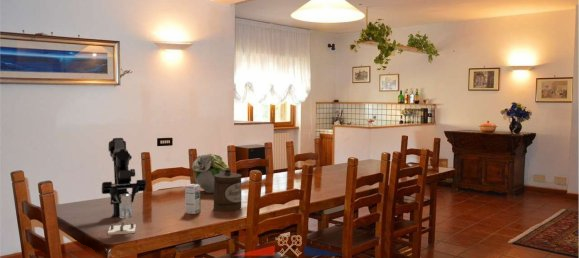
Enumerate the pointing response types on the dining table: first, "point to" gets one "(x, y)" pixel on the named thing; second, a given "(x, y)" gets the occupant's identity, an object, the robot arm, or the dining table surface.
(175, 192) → the dining table surface
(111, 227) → the pin tray
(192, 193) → the syrup box
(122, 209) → the steel canister
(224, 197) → the wooden container
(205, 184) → the flower arrangement
